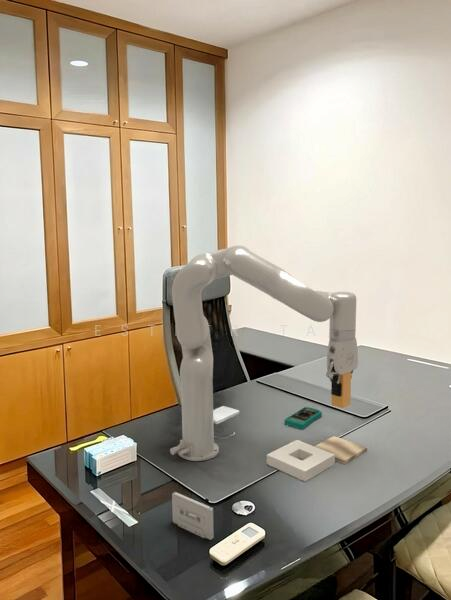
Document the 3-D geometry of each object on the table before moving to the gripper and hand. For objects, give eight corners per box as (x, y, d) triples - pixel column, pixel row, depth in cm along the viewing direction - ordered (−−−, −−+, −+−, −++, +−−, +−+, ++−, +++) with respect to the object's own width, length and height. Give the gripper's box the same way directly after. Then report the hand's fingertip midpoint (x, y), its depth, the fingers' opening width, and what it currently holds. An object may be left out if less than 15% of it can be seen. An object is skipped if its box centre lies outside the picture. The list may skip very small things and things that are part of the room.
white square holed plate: (305, 481, 145) (305, 471, 144) (266, 464, 155) (266, 454, 154) (334, 464, 154) (335, 454, 154) (296, 448, 164) (296, 439, 164)
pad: (344, 464, 154) (344, 460, 154) (311, 450, 163) (311, 447, 163) (366, 450, 162) (366, 447, 162) (333, 438, 171) (333, 435, 171)
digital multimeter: (322, 417, 189) (323, 409, 189) (302, 431, 178) (302, 423, 177) (304, 412, 194) (304, 405, 193) (283, 426, 182) (283, 418, 182)
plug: (342, 408, 157) (343, 372, 155) (331, 405, 160) (331, 369, 158) (350, 404, 160) (350, 369, 158) (339, 401, 163) (339, 367, 161)
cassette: (171, 523, 127) (170, 493, 125) (176, 519, 128) (175, 490, 127) (210, 541, 119) (209, 510, 118) (215, 537, 121) (214, 507, 120)
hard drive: (222, 405, 198) (199, 415, 188) (239, 410, 193) (217, 420, 183) (222, 409, 198) (199, 419, 189) (239, 414, 193) (217, 425, 183)
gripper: (336, 341, 148) (335, 403, 151) (368, 331, 159) (366, 389, 162) (314, 337, 153) (313, 397, 156) (347, 327, 164) (345, 383, 168)
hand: (340, 392), depth 159 cm, fingers closed on plug, 4 cm apart
